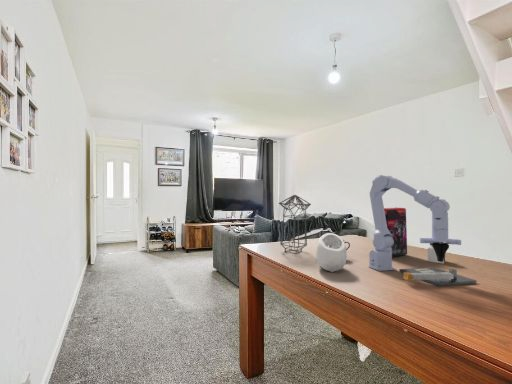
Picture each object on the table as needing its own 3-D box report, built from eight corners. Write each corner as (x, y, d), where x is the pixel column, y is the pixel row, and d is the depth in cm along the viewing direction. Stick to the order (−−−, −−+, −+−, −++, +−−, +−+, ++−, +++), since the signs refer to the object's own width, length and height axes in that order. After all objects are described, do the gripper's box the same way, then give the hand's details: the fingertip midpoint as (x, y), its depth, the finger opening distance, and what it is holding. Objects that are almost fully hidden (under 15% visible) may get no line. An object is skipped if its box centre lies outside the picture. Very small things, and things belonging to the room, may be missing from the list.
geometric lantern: (289, 248, 184) (290, 194, 184) (311, 252, 174) (312, 195, 174) (275, 252, 172) (276, 194, 172) (297, 256, 162) (299, 195, 162)
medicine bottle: (444, 263, 144) (444, 240, 144) (427, 261, 148) (427, 238, 148) (445, 261, 150) (445, 238, 150) (429, 259, 154) (429, 237, 154)
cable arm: (453, 278, 114) (453, 268, 114) (458, 280, 111) (458, 270, 111) (403, 279, 113) (403, 269, 113) (407, 282, 110) (407, 271, 110)
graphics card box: (388, 258, 156) (388, 208, 156) (377, 256, 162) (377, 208, 162) (407, 255, 164) (407, 207, 164) (396, 253, 170) (396, 207, 170)
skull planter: (342, 258, 147) (344, 228, 139) (347, 287, 130) (350, 255, 121) (315, 257, 150) (315, 227, 141) (316, 286, 132) (317, 254, 123)
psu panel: (438, 286, 109) (438, 282, 109) (399, 271, 129) (399, 268, 129) (476, 283, 112) (476, 279, 112) (432, 269, 133) (432, 266, 133)
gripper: (456, 228, 120) (456, 260, 120) (417, 226, 124) (418, 258, 124) (463, 230, 113) (463, 264, 113) (422, 228, 118) (422, 261, 118)
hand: (440, 261), depth 118 cm, fingers closed
